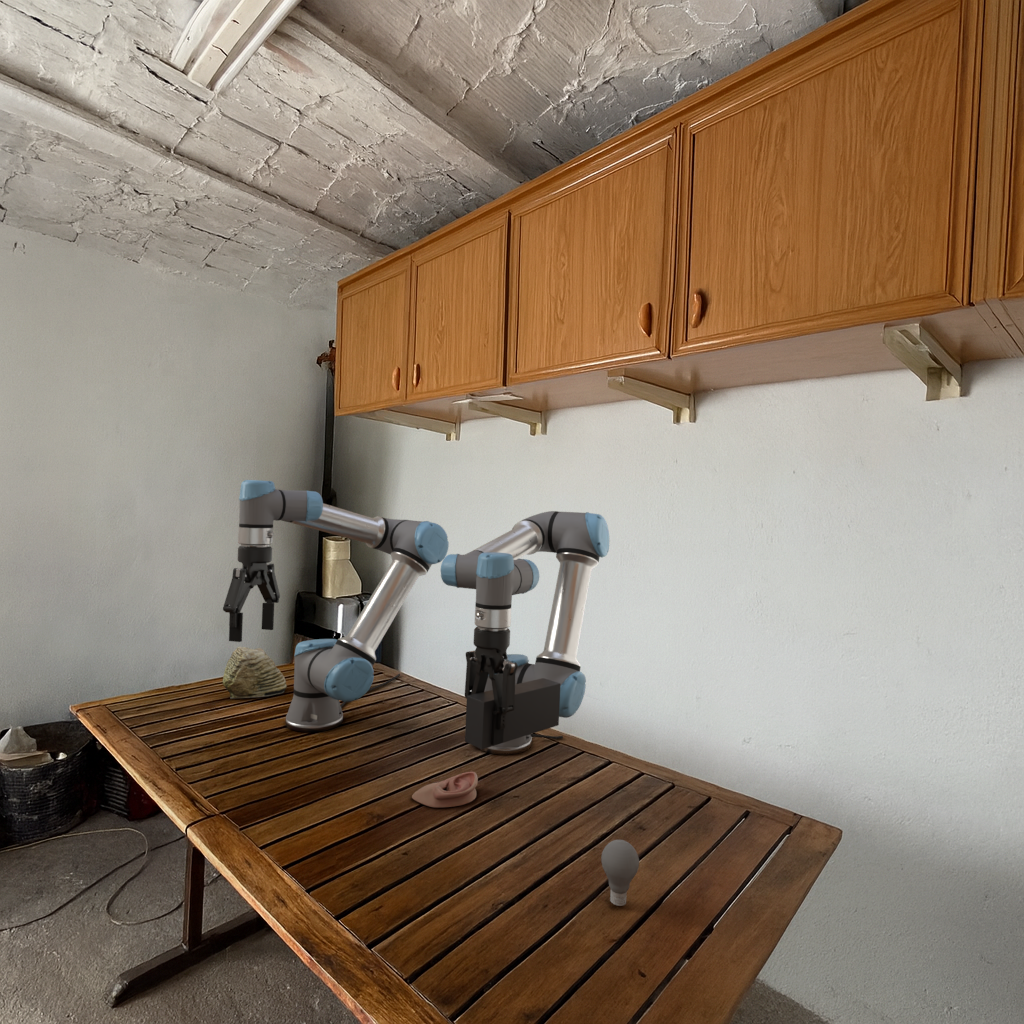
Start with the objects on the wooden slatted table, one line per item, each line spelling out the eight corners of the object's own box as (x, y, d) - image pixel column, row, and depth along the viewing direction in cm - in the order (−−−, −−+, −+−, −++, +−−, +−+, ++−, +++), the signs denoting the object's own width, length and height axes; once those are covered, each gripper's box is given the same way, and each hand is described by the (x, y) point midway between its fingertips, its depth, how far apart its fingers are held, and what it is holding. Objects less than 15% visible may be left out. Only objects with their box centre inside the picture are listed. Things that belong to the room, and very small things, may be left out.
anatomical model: (407, 784, 132) (425, 763, 143) (406, 803, 132) (424, 780, 143) (468, 793, 129) (482, 770, 140) (467, 812, 129) (481, 788, 141)
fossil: (218, 695, 195) (220, 647, 195) (278, 685, 208) (279, 640, 207) (228, 703, 189) (230, 653, 188) (289, 692, 201) (290, 645, 201)
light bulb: (595, 892, 105) (598, 832, 105) (631, 891, 105) (634, 832, 105) (604, 915, 99) (607, 852, 99) (641, 915, 99) (644, 852, 99)
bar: (541, 718, 147) (543, 677, 147) (558, 725, 143) (560, 683, 143) (464, 741, 131) (466, 695, 131) (481, 749, 127) (484, 702, 127)
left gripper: (239, 550, 136) (236, 648, 137) (296, 543, 161) (292, 626, 161) (207, 548, 138) (204, 645, 138) (268, 541, 162) (265, 624, 163)
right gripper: (450, 621, 135) (445, 730, 135) (510, 637, 122) (504, 757, 122) (476, 618, 140) (471, 722, 141) (537, 633, 127) (531, 748, 127)
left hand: (252, 635), depth 150 cm, fingers open, 13 cm apart
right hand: (487, 738), depth 131 cm, fingers closed on bar, 5 cm apart
